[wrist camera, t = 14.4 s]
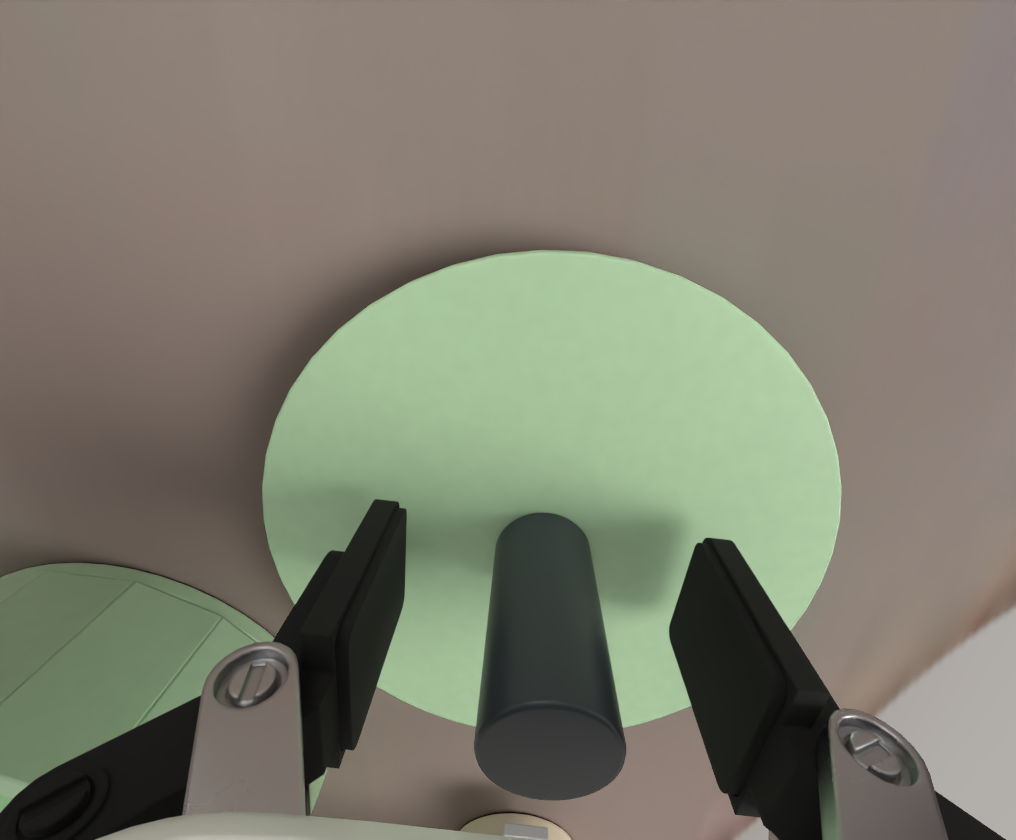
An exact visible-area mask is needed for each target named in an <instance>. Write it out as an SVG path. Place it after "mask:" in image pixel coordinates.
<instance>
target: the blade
mask: <svg viewBox="0 0 1016 840" xmlns="http://www.w3.org/2000/svg"><path fill="white" fill-rule="evenodd" d="M460 831H463V832H472V833H481V834H490V835H499V836H508V837H517V838H525V839H534V840H571V838H570V837H569V835H568V834H567V833H566V832H565V831H564V830H563V829H561V828H560V827H558V826H557V825H555V824H553V823H552V822H549V821H547V820H545V819H542V818H539V817H535V816H531V815H525V814H515V813H503V814H494V815H488V816H484V817H481V818H478V819H476V820H474V821H472V822H470V823H468V824H467V825H465V826H464V827H463V828H462V829H461V830H460Z"/></svg>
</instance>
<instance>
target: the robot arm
mask: <svg viewBox="0 0 1016 840" xmlns="http://www.w3.org/2000/svg"><path fill="white" fill-rule="evenodd" d="M406 524H407V511H406V509H405V508H400V507H399V502H397V501H388V500H380V499H375V500H374V501H373V502H372V504H371V506H370V508H369V509H368V511H367V513H366V515H365V517H364V518H363V520H362V522H361V524H360V525H359V527H358V529H357V531H356V532H355V534H354V536H353V538H352V539H351V541H350V543H349V545H348V546H347V548H346V550H345V552H343V551H334V550H331V551H330V552H328V553H327V555H326V556H325V557H324V559H323V561H322V562H321V564H320V565H319V567H318V569H317V570H316V572H315V574H314V575H313V577H312V578H311V580H310V582H309V583H308V585H307V586H306V588H305V590H304V591H303V593H302V595H301V596H300V598H299V599H298V601H297V603H296V604H295V606H294V607H293V609H292V611H291V612H290V614H289V616H288V617H287V619H286V620H285V622H284V624H283V625H282V627H281V628H280V630H279V632H278V633H277V635H276V637H275V638H274V640H273V641H272V642H268V641H267V642H259V643H253V644H250V645H247V646H244V647H241V648H239V649H237V650H236V651H234V652H232V653H230V654H229V655H227V656H226V657H224V658H223V659H222V660H221V661H220V662H219V663H218V664H216V665H215V666H214V668H213V669H212V670H211V672H210V673H209V675H208V676H207V677H206V680H205V683H204V686H203V689H202V693H201V695H200V696H198V697H196V698H194V699H192V700H190V701H188V702H186V703H184V704H182V705H180V706H178V707H176V708H174V709H172V710H170V711H168V712H166V713H164V714H162V715H160V716H158V717H156V718H154V719H152V720H150V721H148V722H146V723H144V724H142V725H140V726H138V727H136V728H134V729H132V730H130V731H128V732H126V733H124V734H122V735H120V736H118V737H116V738H114V739H112V740H110V741H107V742H105V743H103V744H101V745H99V746H97V747H95V748H93V749H91V750H89V751H87V752H85V753H83V754H81V755H79V756H77V757H75V758H73V759H71V760H69V761H67V762H65V763H63V764H61V765H59V766H57V767H55V768H54V769H52V770H50V771H49V772H47V773H45V774H44V775H42V776H40V777H39V778H37V779H35V780H34V781H33V782H32V783H30V784H29V785H28V786H27V787H26V788H24V789H23V790H22V791H21V792H19V793H18V794H17V795H16V796H15V797H14V798H13V799H12V800H11V801H10V803H9V804H8V805H7V806H6V807H5V808H4V809H3V810H2V811H1V813H0V840H534V839H525V838H517V837H508V836H499V835H490V834H481V833H472V832H463V831H454V830H445V829H435V828H426V827H417V826H408V825H399V824H390V823H381V822H372V821H361V820H350V819H339V818H328V817H317V816H311V796H310V784H311V783H312V782H313V781H315V780H316V779H318V778H319V777H321V776H322V775H324V773H325V771H326V768H327V767H331V768H339V767H340V764H341V761H342V758H343V755H344V753H345V750H346V749H348V750H354V749H355V747H356V745H357V742H358V740H359V737H360V734H361V731H362V728H363V725H364V722H365V719H366V716H367V713H368V710H369V707H370V704H371V701H372V698H373V695H374V692H375V689H376V686H377V683H378V680H379V677H380V674H381V671H382V668H383V665H384V662H385V659H386V656H387V653H388V650H389V647H390V644H391V641H392V638H393V635H394V632H395V629H396V626H397V623H398V620H399V617H400V614H401V611H402V608H403V603H404V597H405V565H406ZM669 638H670V642H671V645H672V648H673V651H674V654H675V657H676V660H677V663H678V666H679V669H680V672H681V675H682V678H683V681H684V684H685V687H686V690H687V693H688V696H689V699H690V702H691V705H692V708H693V712H694V715H695V718H696V721H697V724H698V727H699V730H700V733H701V736H702V739H703V742H704V745H705V748H706V751H707V754H708V757H709V760H710V763H711V766H712V769H713V772H714V775H715V778H716V781H717V783H718V786H719V788H720V790H721V791H722V792H723V793H726V794H728V795H729V798H730V801H731V804H732V807H733V810H734V813H735V815H744V816H752V817H761V820H762V822H763V825H764V826H765V827H766V828H767V829H768V830H769V840H1006V839H1004V838H1002V837H1001V836H1000V835H998V834H997V833H995V832H994V831H993V830H991V829H990V828H988V827H987V826H985V825H984V824H982V823H981V822H979V821H978V820H976V819H975V818H974V817H972V816H971V815H969V814H968V813H966V812H965V811H963V810H962V809H961V808H959V807H958V806H956V805H955V804H953V803H952V802H950V801H949V800H948V799H946V798H945V797H943V796H942V795H940V794H939V793H937V792H936V791H934V787H933V784H932V780H931V776H930V773H929V771H928V769H927V767H926V765H925V762H924V760H923V759H922V758H921V756H920V755H919V754H918V752H917V751H916V750H915V748H914V747H913V746H912V745H911V744H910V743H909V742H908V741H907V740H906V739H905V738H904V737H903V736H902V735H901V734H900V733H898V732H897V731H896V730H894V729H893V728H892V727H890V726H889V725H888V724H886V723H885V722H883V721H881V720H879V719H878V718H876V717H874V716H872V715H870V714H867V713H864V712H862V711H859V710H855V709H845V708H844V709H839V707H838V706H837V704H836V703H835V701H834V699H833V698H832V696H831V695H830V693H829V691H828V690H827V688H826V686H825V685H824V683H823V682H822V680H821V679H820V677H819V675H818V674H817V672H816V671H815V669H814V668H813V666H812V664H811V663H810V661H809V660H808V658H807V657H806V655H805V653H804V652H803V650H802V649H801V647H800V646H799V644H798V642H797V641H796V639H795V638H794V636H793V635H792V633H791V631H790V630H789V628H788V627H787V625H786V624H785V622H784V620H783V619H782V617H781V616H780V614H779V613H778V611H777V609H776V608H775V606H774V605H773V603H772V601H771V600H770V598H769V597H768V595H767V594H766V592H765V590H764V589H763V587H762V586H761V584H760V583H759V581H758V579H757V578H756V576H755V575H754V573H753V572H752V570H751V568H750V567H749V565H748V564H747V562H746V561H745V559H744V557H743V556H742V554H741V553H740V551H739V550H738V548H737V546H736V545H735V543H734V542H733V541H731V540H726V539H717V538H705V539H704V540H703V542H702V543H697V544H696V545H695V548H694V551H693V554H692V557H691V560H690V563H689V566H688V569H687V572H686V575H685V579H684V582H683V585H682V588H681V591H680V594H679V597H678V600H677V603H676V606H675V610H674V613H673V616H672V619H671V622H670V626H669Z"/></svg>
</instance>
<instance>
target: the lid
mask: <svg viewBox="0 0 1016 840" xmlns="http://www.w3.org/2000/svg"><path fill="white" fill-rule="evenodd" d="M841 489H842V487H841V478H840V470H839V461H838V453H837V450H836V446H835V443H834V439H833V436H832V433H831V429H830V426H829V422H828V419H827V416H826V414H825V412H824V410H823V408H822V406H821V404H820V402H819V400H818V398H817V396H816V394H815V392H814V390H813V388H812V386H811V384H810V383H809V381H808V380H807V378H806V377H805V376H804V374H803V373H802V371H801V370H800V369H799V367H798V366H797V365H796V363H795V362H794V360H793V359H792V358H791V356H790V355H789V353H788V352H787V351H786V350H785V349H784V348H783V347H782V346H781V345H780V344H779V343H778V342H777V341H776V340H775V339H774V338H773V337H772V336H771V335H770V334H769V333H768V332H767V331H766V330H765V329H764V328H763V327H762V326H761V325H760V324H759V323H758V322H756V321H755V320H753V319H752V318H751V317H749V316H748V315H747V314H745V313H744V312H742V311H741V310H740V309H738V308H737V307H735V306H734V305H733V304H731V303H730V302H729V301H727V300H726V299H724V298H723V297H721V296H719V295H717V294H715V293H713V292H711V291H709V290H707V289H705V288H703V287H702V286H700V285H698V284H696V283H694V282H692V281H690V280H688V279H686V278H684V277H682V276H679V275H676V274H673V273H670V272H667V271H664V270H661V269H658V268H655V267H652V266H650V265H647V264H644V263H641V262H638V261H635V260H630V259H625V258H620V257H614V256H609V255H604V254H598V253H593V252H583V251H561V250H534V251H524V252H513V253H503V254H495V255H491V256H487V257H483V258H478V259H474V260H470V261H466V262H462V263H457V264H453V265H451V266H448V267H446V268H443V269H441V270H438V271H436V272H433V273H430V274H428V275H425V276H423V277H420V278H418V279H415V280H413V281H411V282H409V283H407V284H405V285H403V286H402V287H400V288H398V289H396V290H395V291H393V292H391V293H389V294H387V295H386V296H384V297H382V298H380V299H379V300H377V301H375V302H373V303H372V304H370V305H369V306H367V307H366V308H365V309H364V310H362V311H361V312H360V313H359V314H357V315H356V316H355V317H353V318H352V319H351V320H350V321H348V322H347V323H346V324H345V325H343V326H342V327H341V328H339V329H338V330H337V331H336V332H335V333H334V334H333V335H332V337H331V338H330V339H329V340H328V341H327V342H326V343H325V344H324V345H323V346H322V347H321V348H320V349H319V350H318V351H317V353H316V354H315V355H314V356H313V357H312V358H311V359H310V361H309V362H308V364H307V365H306V367H305V368H304V369H303V371H302V372H301V374H300V375H299V377H298V378H297V380H296V381H295V383H294V384H293V386H292V387H291V389H290V390H289V393H288V395H287V397H286V399H285V401H284V403H283V405H282V408H281V410H280V412H279V414H278V416H277V418H276V420H275V424H274V427H273V431H272V434H271V438H270V441H269V445H268V448H267V452H266V457H265V466H264V475H263V483H262V496H263V518H264V524H265V529H266V534H267V539H268V544H269V548H270V551H271V554H272V557H273V560H274V563H275V566H276V568H277V571H278V574H279V577H280V579H281V580H282V582H283V584H284V586H285V588H286V590H287V592H288V594H289V596H290V598H291V600H292V602H293V603H294V605H295V604H296V603H297V601H298V599H299V598H300V596H301V595H302V593H303V591H304V590H305V588H306V586H307V585H308V583H309V582H310V580H311V578H312V577H313V575H314V574H315V572H316V570H317V569H318V567H319V565H320V564H321V562H322V561H323V559H324V557H325V556H326V555H327V553H328V552H330V551H331V550H334V551H343V552H345V550H346V548H347V546H348V545H349V543H350V541H351V539H352V538H353V536H354V534H355V532H356V531H357V529H358V527H359V525H360V524H361V522H362V520H363V518H364V517H365V515H366V513H367V511H368V509H369V508H370V506H371V504H372V502H373V501H374V500H375V499H380V500H388V501H397V502H399V507H400V508H405V509H406V511H407V524H406V565H405V597H404V603H403V608H402V611H401V614H400V617H399V620H398V623H397V626H396V629H395V632H394V635H393V638H392V641H391V644H390V647H389V650H388V653H387V656H386V659H385V662H384V665H383V668H382V671H381V674H380V677H379V680H378V683H377V687H379V688H380V689H382V690H384V691H386V692H387V693H389V694H391V695H393V696H394V697H396V698H398V699H400V700H402V701H404V702H406V703H408V704H411V705H413V706H415V707H417V708H419V709H421V710H424V711H426V712H429V713H432V714H434V715H437V716H440V717H443V718H446V719H449V720H452V721H455V722H459V723H463V724H467V725H471V726H475V727H476V731H475V740H474V750H475V755H476V759H477V761H478V764H479V766H480V768H481V769H482V771H483V772H484V773H485V775H486V776H487V777H488V778H489V779H490V780H491V781H493V782H494V783H495V784H497V785H498V786H500V787H502V788H503V789H505V790H507V791H509V792H512V793H514V794H517V795H520V796H524V797H528V798H532V799H539V800H568V799H574V798H578V797H582V796H586V795H589V794H591V793H594V792H596V791H598V790H600V789H602V788H603V787H605V786H606V785H608V784H609V783H610V782H611V781H613V780H614V779H615V777H616V776H617V775H618V774H619V772H620V771H621V769H622V767H623V764H624V760H625V756H626V743H625V737H624V732H623V728H624V727H629V726H634V725H637V724H641V723H644V722H647V721H651V720H654V719H658V718H661V717H664V716H666V715H669V714H671V713H674V712H676V711H679V710H682V709H684V708H687V707H689V706H691V702H690V699H689V696H688V693H687V690H686V687H685V684H684V681H683V678H682V675H681V672H680V669H679V666H678V663H677V660H676V657H675V654H674V651H673V648H672V645H671V642H670V638H669V626H670V622H671V619H672V616H673V613H674V610H675V606H676V603H677V600H678V597H679V594H680V591H681V588H682V585H683V582H684V579H685V575H686V572H687V569H688V566H689V563H690V560H691V557H692V554H693V551H694V548H695V545H696V544H697V543H702V542H703V540H704V539H705V538H717V539H726V540H731V541H733V542H734V543H735V545H736V546H737V548H738V550H739V551H740V553H741V554H742V556H743V557H744V559H745V561H746V562H747V564H748V565H749V567H750V568H751V570H752V572H753V573H754V575H755V576H756V578H757V579H758V581H759V583H760V584H761V586H762V587H763V589H764V590H765V592H766V594H767V595H768V597H769V598H770V600H771V601H772V603H773V605H774V606H775V608H776V609H777V611H778V613H779V614H780V616H781V617H782V619H783V620H784V622H785V624H786V625H787V627H788V628H789V630H791V629H792V628H793V626H794V625H795V624H796V622H797V621H798V620H799V618H800V617H801V616H802V614H803V613H804V612H805V610H806V609H807V607H808V605H809V604H810V602H811V600H812V598H813V596H814V595H815V593H816V591H817V589H818V588H819V586H820V584H821V582H822V580H823V577H824V574H825V572H826V569H827V567H828V564H829V561H830V559H831V556H832V554H833V550H834V545H835V541H836V536H837V531H838V527H839V522H840V508H841Z"/></svg>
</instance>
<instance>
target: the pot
mask: <svg viewBox="0 0 1016 840" xmlns="http://www.w3.org/2000/svg"><path fill="white" fill-rule="evenodd" d="M273 640H274V637H273V636H272V635H271V634H270V633H269V632H267V631H266V630H265V629H264V628H262V627H261V626H259V625H258V624H257V623H255V622H254V621H252V620H251V619H250V618H248V617H247V616H245V615H244V614H242V613H241V612H239V611H237V610H236V609H234V608H232V607H230V606H229V605H227V604H225V603H223V602H222V601H220V600H218V599H216V598H214V597H212V596H210V595H207V594H205V593H203V592H201V591H199V590H197V589H194V588H192V587H190V586H187V585H184V584H182V583H179V582H176V581H173V580H170V579H168V578H165V577H162V576H158V575H154V574H150V573H147V572H143V571H139V570H135V569H130V568H124V567H118V566H112V565H106V564H91V563H60V564H48V565H42V566H36V567H30V568H26V569H23V570H19V571H16V572H13V573H10V574H7V575H4V576H2V577H0V813H1V811H2V810H3V809H4V808H5V807H6V806H7V805H8V804H9V803H10V801H11V800H12V799H13V798H14V797H15V796H16V795H17V794H18V793H19V792H21V791H22V790H23V789H24V788H26V787H27V786H28V785H29V784H30V783H32V782H33V781H34V780H35V779H37V778H39V777H40V776H42V775H44V774H45V773H47V772H49V771H50V770H52V769H54V768H55V767H57V766H59V765H61V764H63V763H65V762H67V761H69V760H71V759H73V758H75V757H77V756H79V755H81V754H83V753H85V752H87V751H89V750H91V749H93V748H95V747H97V746H99V745H101V744H103V743H105V742H107V741H110V740H112V739H114V738H116V737H118V736H120V735H122V734H124V733H126V732H128V731H130V730H132V729H134V728H136V727H138V726H140V725H142V724H144V723H146V722H148V721H150V720H152V719H154V718H156V717H158V716H160V715H162V714H164V713H166V712H168V711H170V710H172V709H174V708H176V707H178V706H180V705H182V704H184V703H186V702H188V701H190V700H192V699H194V698H196V697H198V696H200V695H201V693H202V689H203V686H204V683H205V680H206V677H207V676H208V675H209V673H210V672H211V670H212V669H213V668H214V666H215V665H216V664H218V663H219V662H220V661H221V660H222V659H223V658H224V657H226V656H227V655H229V654H230V653H232V652H234V651H236V650H237V649H239V648H241V647H244V646H247V645H250V644H253V643H259V642H267V641H268V642H272V641H273ZM326 773H327V768H326V771H325V773H324V775H322V776H321V777H319V778H318V779H316V780H315V781H313V782H312V783H311V784H310V796H311V814H312V811H313V808H314V806H315V803H316V800H317V798H318V795H319V792H320V790H321V787H322V784H323V781H324V779H325V776H326Z"/></svg>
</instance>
